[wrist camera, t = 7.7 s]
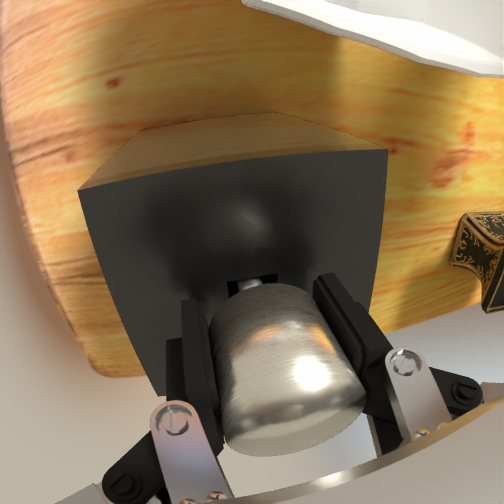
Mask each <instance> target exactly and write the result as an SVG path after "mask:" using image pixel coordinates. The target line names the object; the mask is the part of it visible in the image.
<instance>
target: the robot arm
mask: <svg viewBox="0 0 504 504" xmlns="http://www.w3.org/2000/svg"><path fill="white" fill-rule="evenodd" d="M312 298H313V299H314V301H315V302H316V304H317V306H318V308H319V309H320V311H321V313H322V315H323V316H324V318H325V320H326V322H327V323H328V325H329V327H330V329H331V330H332V332H333V334H334V336H335V337H336V339H337V341H338V343H339V344H340V346H341V348H342V350H343V352H344V353H345V355H346V357H347V359H348V361H349V362H350V364H351V366H352V368H353V370H354V371H355V373H356V375H357V377H358V379H359V380H360V382H361V384H362V386H363V388H364V390H365V391H366V395H367V401H366V405H365V407H364V409H363V411H362V413H365V414H367V419H368V423H369V427H370V431H371V435H372V439H373V443H374V447H375V450H376V455H377V458H376V459H373V460H371V461H368V462H366V463H363V464H361V465H358V466H355V467H352V468H350V469H347V470H344V471H341V472H339V473H335V474H332V475H329V476H326V477H323V478H320V479H316V480H313V481H309V482H306V483H302V484H298V485H295V486H291V487H287V488H283V489H279V490H274V491H270V492H265V493H260V494H255V495H250V496H244V497H238V498H235V497H234V495H233V493H232V490H231V488H230V486H229V484H228V481H227V479H226V477H225V475H224V472H223V470H222V468H221V465H220V463H219V461H218V458H217V456H218V455H219V453H220V452H221V451H222V450H223V449H224V447H223V444H225V441H224V430H223V425H222V419H221V413H220V409H221V408H220V402H219V396H218V390H217V384H216V378H215V372H214V365H213V359H212V352H211V345H210V338H209V327H208V323H207V318H206V314H205V309H204V305H203V301H199V302H197V299H196V298H192V299H186V300H181V323H182V337H180V338H174V339H167V340H166V397H167V398H166V400H167V402H165V403H163V404H161V405H159V406H158V407H157V408H156V409H155V410H154V411H153V413H152V415H151V418H150V428H151V431H149V433H148V434H146V435H145V436H144V437H143V438H142V439H141V440H140V441H139V442H138V443H137V444H136V445H135V446H134V447H133V448H132V449H130V450H129V451H128V452H127V453H126V454H125V455H124V456H123V457H122V458H121V459H120V460H118V461H117V462H116V463H115V464H114V465H113V466H112V467H111V468H110V469H109V470H108V471H107V472H106V473H105V475H104V477H103V480H102V482H100V483H98V484H97V485H95V484H94V483H93V484H91V485H89V486H87V487H86V488H84V489H82V490H80V491H78V492H76V493H75V494H73V495H71V496H69V497H67V498H65V499H63V500H61V501H59V502H57V503H55V504H504V383H487V382H486V383H485V382H482V384H481V385H479V384H478V383H477V382H476V381H475V380H473V379H471V378H469V377H465V376H461V375H458V374H454V373H450V372H446V371H443V370H439V369H435V368H432V367H428V365H427V363H426V361H425V359H424V357H423V356H422V354H421V353H420V352H418V351H417V350H415V349H413V348H410V347H397V348H393V347H392V345H391V344H390V343H389V341H388V340H387V338H386V337H385V336H384V334H383V333H382V331H381V330H380V329H379V327H378V326H377V324H376V323H375V322H374V320H373V319H372V317H371V316H370V315H369V313H368V312H367V311H366V309H365V308H364V307H363V305H362V304H361V303H360V302H355V301H354V300H353V299H352V297H351V296H350V294H349V293H348V292H347V290H346V289H345V288H344V286H343V285H342V284H341V282H340V281H339V279H338V278H337V277H336V275H335V274H334V273H327V274H322V275H318V277H317V280H314V281H313V294H312Z"/></svg>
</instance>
